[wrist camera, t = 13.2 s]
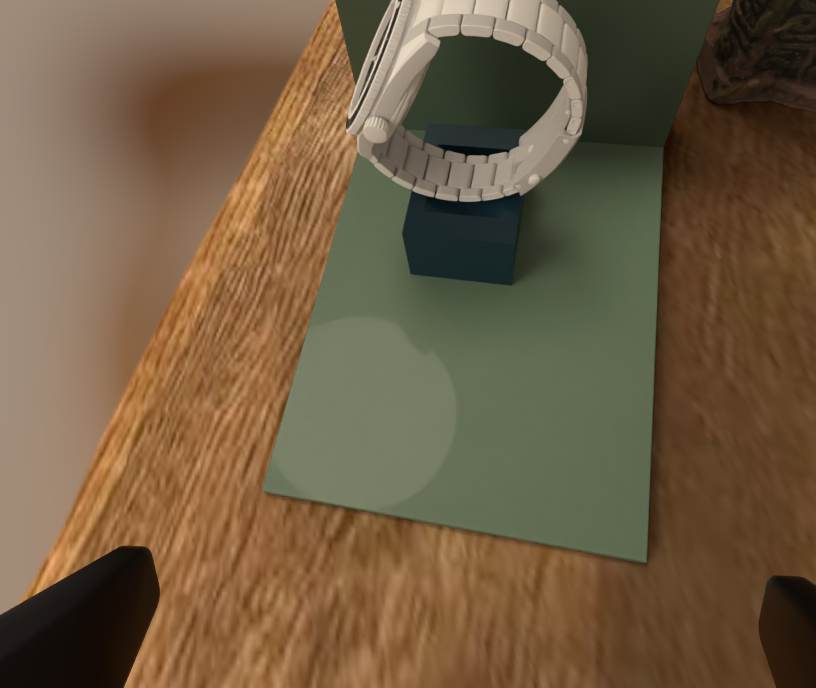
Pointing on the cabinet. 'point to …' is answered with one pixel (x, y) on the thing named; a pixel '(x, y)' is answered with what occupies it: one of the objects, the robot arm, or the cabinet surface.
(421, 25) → the watch
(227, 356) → the cabinet surface
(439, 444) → the green display stand
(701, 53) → the statue
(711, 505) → the cabinet surface
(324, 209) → the cabinet surface
